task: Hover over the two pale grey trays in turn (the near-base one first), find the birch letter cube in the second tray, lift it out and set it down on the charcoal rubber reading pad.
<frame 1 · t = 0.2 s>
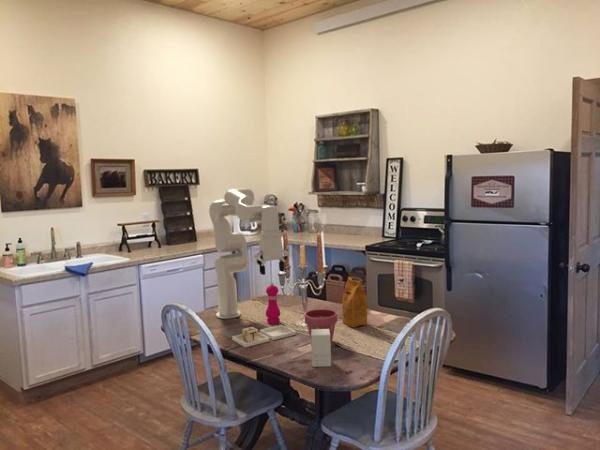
hand: (272, 272, 227), 30 cm above the table, fingers open, 9 cm apart
coffee package: (354, 324, 247), on the table
supplement box: (321, 363, 200), on the table
plant pot: (321, 342, 224), on the table
letter cube: (250, 340, 227), resting on tray a
pepper mill: (273, 322, 253), on the table
tray b: (277, 334, 234), on the table
tray a: (250, 341, 227), on the table
reading pad: (236, 333, 238), on the table
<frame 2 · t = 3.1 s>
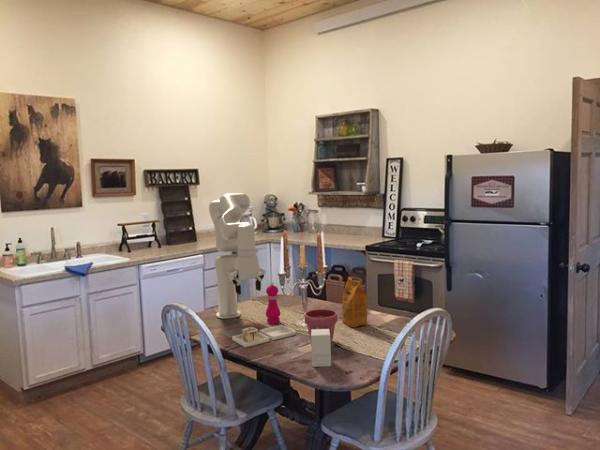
hand: (248, 292, 224), 22 cm above the table, fingers open, 9 cm apart
nothing on the table moved.
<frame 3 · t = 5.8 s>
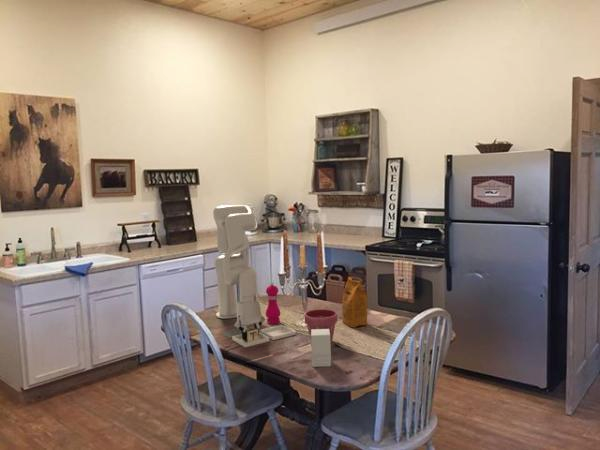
hand: (250, 338, 226), 1 cm above the table, fingers closed on letter cube, 4 cm apart
letter cube: (250, 340, 227), point 1 cm above the table, touching gripper, tray a
everything else where it was.
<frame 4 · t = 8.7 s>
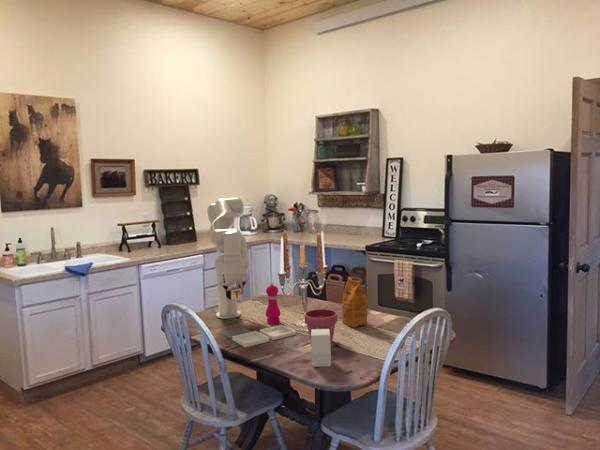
hand: (234, 297, 236), 17 cm above the table, fingers closed on letter cube, 4 cm apart
letter cube: (234, 299, 236), point 16 cm above the table, touching gripper
everything else where it was.
when the fingers open (3 cm above the table, at t = 11.8 s): letter cube drops 1 cm, resting on reading pad.
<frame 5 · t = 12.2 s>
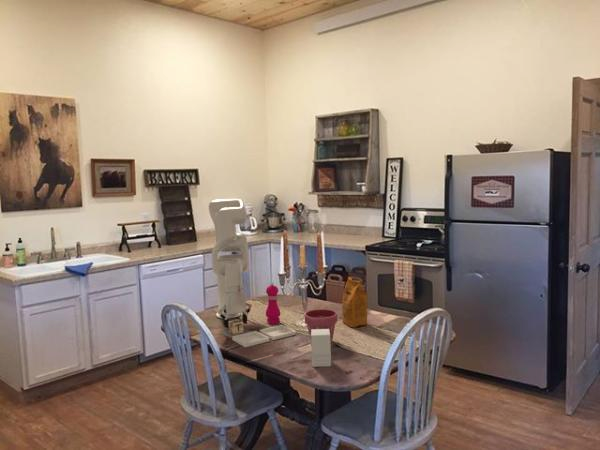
hand: (235, 325, 238), 4 cm above the table, fingers open, 9 cm apart
letter cube: (236, 332, 238), point 1 cm above the table, touching reading pad
everything else where it was.
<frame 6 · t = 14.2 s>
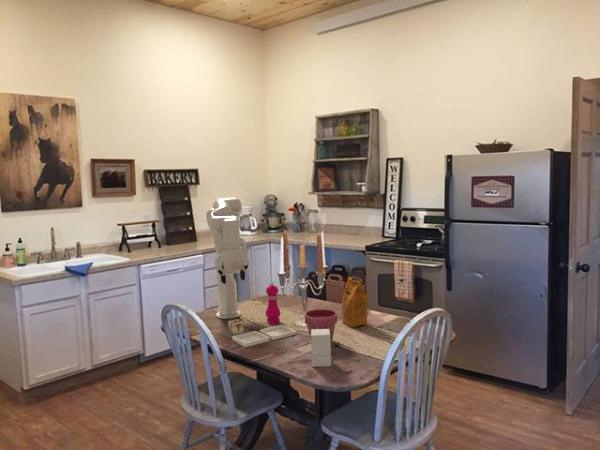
hand: (233, 281, 241), 23 cm above the table, fingers open, 9 cm apart
nothing on the table moved.
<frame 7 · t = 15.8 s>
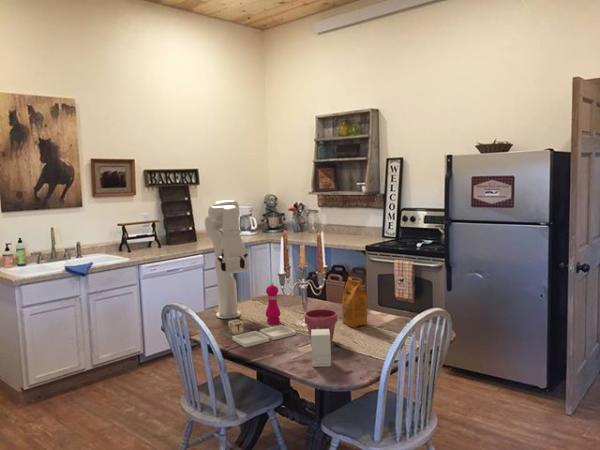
hand: (233, 269, 244), 28 cm above the table, fingers open, 9 cm apart
nothing on the table moved.
at the end: letter cube inside the target area on the reading pad (0.0 cm from its centre), point 0.6 cm above the reading pad's base; letter cube tilted 0°; the gripper is holding nothing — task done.
